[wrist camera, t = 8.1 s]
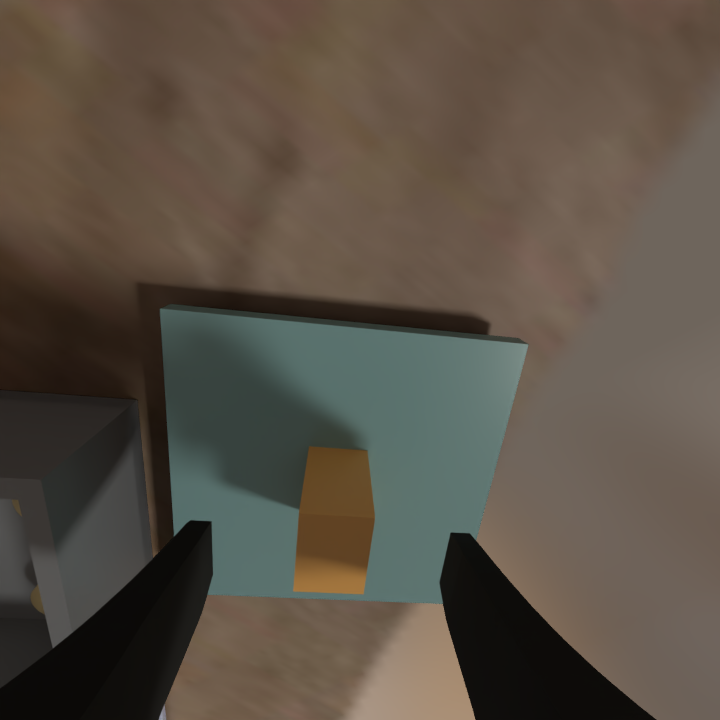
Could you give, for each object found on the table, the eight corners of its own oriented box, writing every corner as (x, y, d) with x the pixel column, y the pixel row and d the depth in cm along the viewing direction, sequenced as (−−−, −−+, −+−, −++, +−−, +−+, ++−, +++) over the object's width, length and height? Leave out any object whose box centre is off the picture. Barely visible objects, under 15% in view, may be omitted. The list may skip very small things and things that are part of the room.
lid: (449, 573, 19) (487, 694, 14) (192, 562, 18) (135, 687, 13) (509, 332, 15) (591, 383, 10) (180, 299, 14) (91, 338, 9)
